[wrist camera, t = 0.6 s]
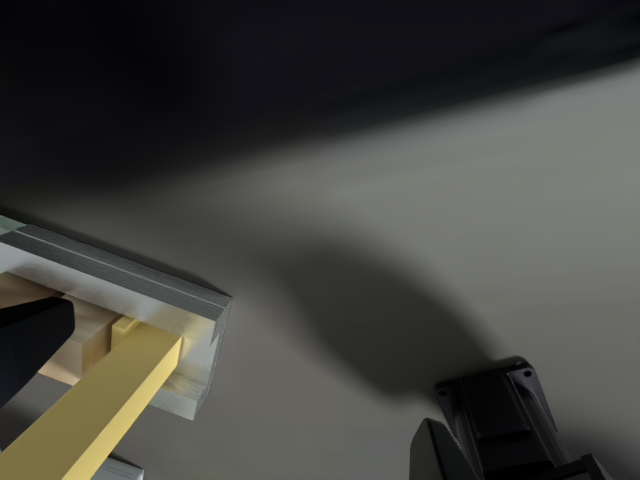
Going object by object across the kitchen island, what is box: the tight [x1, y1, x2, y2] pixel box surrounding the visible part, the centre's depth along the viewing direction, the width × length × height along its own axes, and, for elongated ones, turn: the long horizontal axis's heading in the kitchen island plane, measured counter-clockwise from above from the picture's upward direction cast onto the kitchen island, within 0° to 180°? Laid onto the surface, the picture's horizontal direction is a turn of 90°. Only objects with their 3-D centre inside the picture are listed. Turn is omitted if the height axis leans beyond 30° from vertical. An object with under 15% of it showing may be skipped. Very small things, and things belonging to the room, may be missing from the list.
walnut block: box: [0, 271, 66, 309], centre depth 22 cm, size 4×4×4 cm
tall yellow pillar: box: [0, 315, 182, 480], centre depth 18 cm, size 4×5×13 cm
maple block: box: [38, 294, 124, 386], centre depth 22 cm, size 4×4×4 cm
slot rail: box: [0, 224, 233, 421], centre depth 24 cm, size 16×10×3 cm, turn 72°
